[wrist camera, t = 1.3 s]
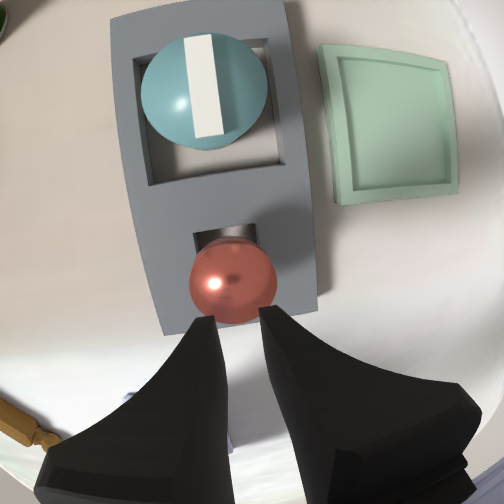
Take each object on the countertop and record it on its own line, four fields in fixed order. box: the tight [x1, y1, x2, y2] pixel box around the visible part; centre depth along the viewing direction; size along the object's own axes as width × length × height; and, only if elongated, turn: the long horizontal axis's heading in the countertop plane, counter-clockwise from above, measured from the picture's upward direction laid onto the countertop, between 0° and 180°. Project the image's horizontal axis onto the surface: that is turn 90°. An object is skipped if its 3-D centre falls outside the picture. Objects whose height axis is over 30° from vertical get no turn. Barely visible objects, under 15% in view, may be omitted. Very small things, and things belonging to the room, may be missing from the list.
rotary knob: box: [141, 32, 268, 151], centre depth 13 cm, size 5×5×7 cm
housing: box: [110, 0, 318, 336], centre depth 16 cm, size 20×10×2 cm, turn 7°
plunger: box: [189, 236, 277, 324], centre depth 15 cm, size 4×4×3 cm
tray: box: [316, 44, 458, 206], centre depth 17 cm, size 10×10×1 cm
